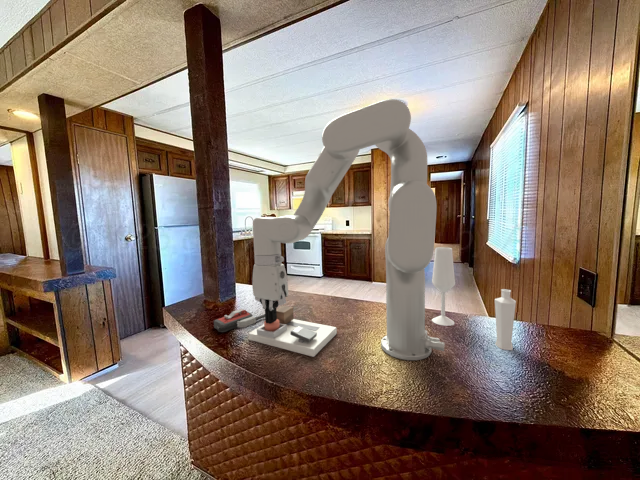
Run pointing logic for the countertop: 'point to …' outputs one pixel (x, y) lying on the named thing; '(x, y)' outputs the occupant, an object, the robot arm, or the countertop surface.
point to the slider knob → (285, 314)
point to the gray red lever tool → (235, 320)
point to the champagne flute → (443, 280)
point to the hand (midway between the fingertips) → (271, 321)
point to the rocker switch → (303, 333)
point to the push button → (272, 326)
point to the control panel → (293, 343)
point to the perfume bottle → (504, 319)
